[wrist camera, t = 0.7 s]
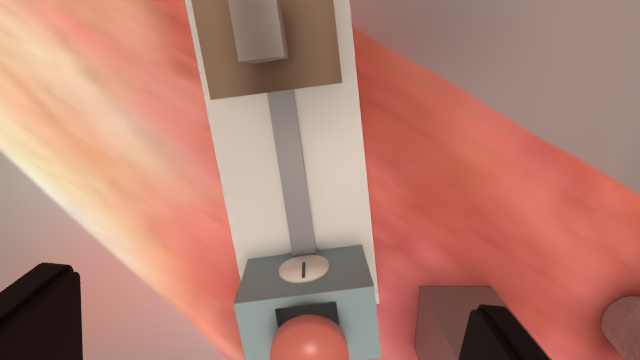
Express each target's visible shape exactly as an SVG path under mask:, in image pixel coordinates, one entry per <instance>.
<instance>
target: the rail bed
mask: <svg viewBox="0 0 640 360" xmlns="http://www.w3.org/2000/svg"><path fill="white" fill-rule="evenodd" d="M333 2H334V11H335V20H336V29H337V39H338V48H339V57H340V66H341V76H342V83H338V84H330V85H322V86H315V87H307V88H299V89H292V90H284V91H276V92H269V93H261V94H253V95H246V96H238V97H230V98H223V99H215V100H210V95H209V90H208V84H207V79H206V74H205V69H204V64H203V59H202V54H201V49H200V43H199V38H198V33H197V28H196V23H195V18H194V13H193V7H192V2H191V0H185V3H186V8H187V13H188V18H189V23H190V28H191V33H192V38H193V43H194V48H195V54H196V59H197V64H198V69H199V74H200V79H201V84H202V89H203V94H204V99H205V104H206V109H207V114H208V119H209V124H210V129H211V134H212V139H213V144H214V149H215V154H216V159H217V164H218V169H219V174H220V179H221V184H222V190H223V195H224V200H225V205H226V210H227V215H228V220H229V225H230V230H231V235H232V240H233V245H234V250H235V255H236V260H237V265H238V270H239V275H240V280H241V279H242V276H243V273H244V270H245V267H246V264H247V260H248V259H253V258H260V257H268V256H276V255H284V254H292V255H293V258H295V257H298V256H303V255H316V250H324V249H332V248H339V247H347V246H355V245H362V247H363V250H364V253H365V257H366V260H367V263H368V267H369V270H370V274H371V277H372V280H373V284H374V288H375V298H376V304H379V296H378V286H377V276H376V265H375V255H374V245H373V235H372V225H371V215H370V204H369V194H368V184H367V174H366V164H365V154H364V144H363V133H362V123H361V113H360V103H359V93H358V83H357V72H356V62H355V52H354V42H353V32H352V22H351V13H350V1H349V0H333Z"/></svg>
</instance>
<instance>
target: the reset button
mask: <svg viewBox="0 0 640 360" xmlns="http://www.w3.org/2000/svg"><path fill="white" fill-rule="evenodd" d="M270 360H349V352H348V345H347V339H346V337H345V334H344V332H343V331H342V329H341V328H340V327H339V326H338V325H337V324H336V323H334V322H333V321H331V320H330V319H328V318H325V317H322V316H319V315H317V314H311V313H308V314H303V315H300V316H297V317H294V318H292V319H290V320H288V321H286V322H285V323H284V324H282V325H281V326H280V327H279V328H278V330H277V331H276V333H275V334H274V336H273V339H272V344H271V350H270Z"/></svg>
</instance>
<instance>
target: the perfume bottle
mask: <svg viewBox="0 0 640 360" xmlns="http://www.w3.org/2000/svg"><path fill="white" fill-rule="evenodd" d="M481 304H485V305H495V306H504V307H506V308H507V309H508V310H509V311H510V312H511V313H512V315H513V316H514V317H515V318H516V319H517V317H516V316H515V315H514V314H513V312H512V311H511V310H510V309H509V308H508V306H507V305H506V304H505V303H504V302H503V300H502V299H501V298H500V297H499V296H498V294H497V293H496V292H495V291H494V290H493V288H492V287H491V286H420V292H419V302H418V313H417V323H416V334H415V344H414V348H415V351H416V353H417V356H418V359H419V360H458V359H459V355H460V351H461V347H462V343H463V339H464V335H465V331H466V327H467V323H468V319H469V315H470V312H471V311H472V310H477V308H478V306H479V305H481ZM517 321H518V322H519V323H520V324H521V325H522V323H521V322H520V321H519V320H518V319H517ZM522 326H523V325H522ZM523 328H524V329H525V330H526V331H527V329H526V328H525V327H524V326H523ZM527 332H528V331H527ZM528 334H529V335H530V336H531V337H532V335H531V334H530V333H529V332H528ZM532 338H533V337H532ZM533 340H534V341H535V342H536V343H537V341H536V340H535V339H534V338H533ZM537 344H538V343H537ZM538 346H539V347H540V348H541V349H542V347H541V346H540V345H539V344H538ZM542 350H543V349H542ZM543 352H544V353H545V354H546V355H547V353H546V352H545V351H544V350H543ZM547 356H548V355H547ZM548 358H549V359H550V360H552V359H551V358H550V357H549V356H548Z"/></svg>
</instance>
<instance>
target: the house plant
mask: <svg viewBox="0 0 640 360" xmlns="http://www.w3.org/2000/svg"><path fill="white" fill-rule="evenodd" d="M601 330H602V332H603V334H604V335H605V336H606V338H607V339H608V340H609V342H610V343H611V344H612V345H613V347H614V348H615V349H616V350H617V352H618V353H619V354H620V356H621V357H622V358H623V359H624V360H640V297H637V296H627V297H623V298H620V299H618V300H616V301H614V302H613V303H612V304H610V305H609V306H608V307H607V309H606V310H605V311H604V314H603V316H602V321H601Z"/></svg>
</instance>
